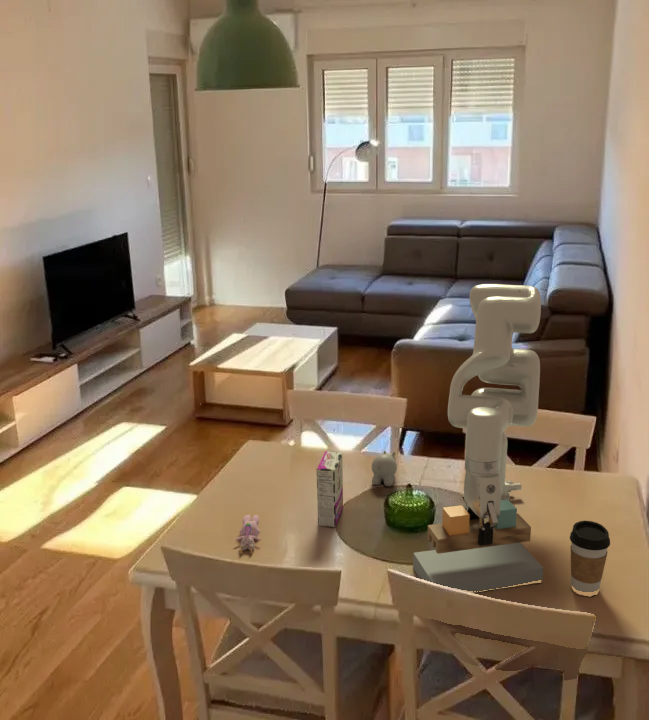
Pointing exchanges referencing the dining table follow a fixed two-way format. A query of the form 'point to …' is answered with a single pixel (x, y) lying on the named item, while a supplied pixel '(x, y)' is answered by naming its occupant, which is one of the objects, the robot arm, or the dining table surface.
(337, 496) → the candy bar box
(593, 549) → the coffee cup
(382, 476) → the round bodied animal figurine
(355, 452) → the dining table surface
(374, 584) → the dining table surface
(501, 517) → the teal cube
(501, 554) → the dock
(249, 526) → the rabbit figure
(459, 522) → the orange cube
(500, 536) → the brown wooden block
